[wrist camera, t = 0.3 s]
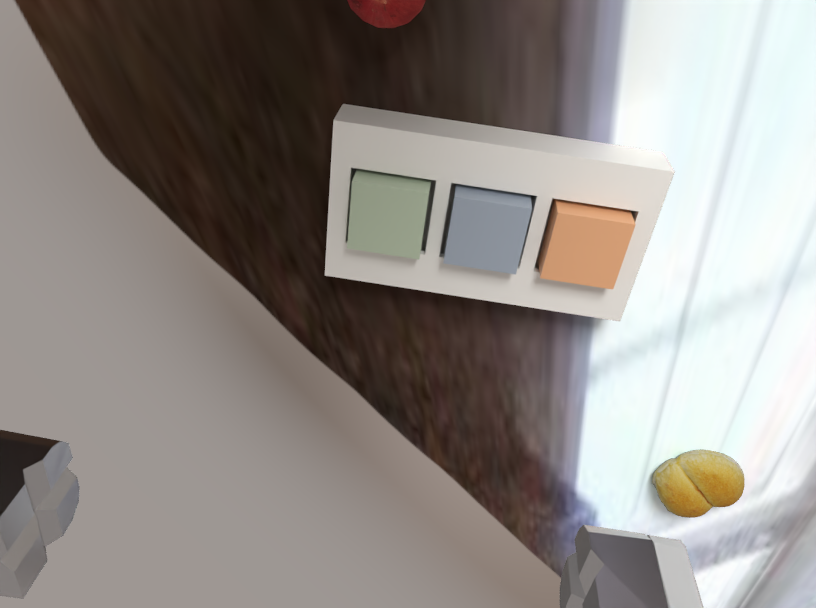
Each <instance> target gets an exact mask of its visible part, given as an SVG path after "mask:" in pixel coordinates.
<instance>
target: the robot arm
mask: <svg viewBox="0 0 816 608" xmlns="http://www.w3.org/2000/svg"><path fill="white" fill-rule="evenodd" d="M72 458H73V457H72V454H71V450H70V447H69V444H68V443H66V442H62V441H57V440H51V439H46V438H41V437H35V436H30V435H24V434H19V433H14V432H9V431H4V430H0V596H6V597H14V598H21V599H23V598H24V596H25V595H26V594H27V592H28V590H29V589H30V587H31V586H32V584H33V582H34V580H35V579H36V578H37V576H38V574H39V573H40V571H41V570H42V568H43V567H44V565H45V563H46V562H47V555H46V548H45V546H47V545H49V544H50V543H52V542H54V541H55V540H57V539H58V538H60V537H62V536H63V535H64V533H65V531H66V530H67V528H68V526H69V525H70V523H71V521H72V519H73V516H74V513H75V510H76V508H77V504H78V501H79V484H78V480H77V477H76V476H75V475H74V474H73V473H72V472H71V471H70V470H69V469H68V468H67V465H68V464H69V462H70V461H71V460H72ZM575 546H576V553H574V554H572V555H570V556H569V557H567V560H566V563H565V565H564V568H563V571H562V577H561V585H560V608H703V605H702V601H701V598H700V594H699V591H698V587H697V584H696V580H695V577H694V573H693V570H692V566H691V563H690V560H689V556H688V553H687V549H686V546H685V545H684V544H683V543H682V541H681V540H675V539H669V538H663V537H657V536H651V535H645V534H642V533H635V532H629V531H622V530H615V529H608V528H602V527H595V526H588V525H583V526H582V527H581V528H580V529H579V531H578V533H577V535H576V538H575Z"/></svg>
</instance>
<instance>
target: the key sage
mask: <svg viewBox="0 0 816 608" xmlns="http://www.w3.org/2000/svg"><path fill="white" fill-rule="evenodd" d="M430 187H431V180H429V179H423V178H416V177H410V176H403V175H397V174H390V173H383V172H377V171H370V170H364V169H357V171H356V173H355V176H354V178H353V180H352V189H351V202H350V215H349V228H348V241H347V248H348V249H354V250H361V251H367V252H374V253H380V254H386V255H393V256H399V257H406V258H412V259H419V258H420V252H421V246H422V241H423V234H424V227H425V220H426V214H427V207H428V200H429V193H430Z"/></svg>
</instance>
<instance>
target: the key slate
mask: <svg viewBox="0 0 816 608" xmlns="http://www.w3.org/2000/svg"><path fill="white" fill-rule="evenodd" d="M531 211H532V204H531V195H528V194H521V193H515V192H508V191H502V190H495V189H488V188H482V187H475V186H469V185H462V184H456V186H455V192H454V198H453V204H452V210H451V216H450V222H449V227H448V233H447V239H446V245H445V253H444V262H443V263H445V264H451V265H458V266H464V267H470V268H477V269H483V270H490V271H496V272H503V273H509V274H516V272H517V268H518V264H519V260H520V256H521V252H522V248H523V244H524V240H525V235H526V231H527V227H528V223H529V219H530V215H531Z"/></svg>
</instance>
